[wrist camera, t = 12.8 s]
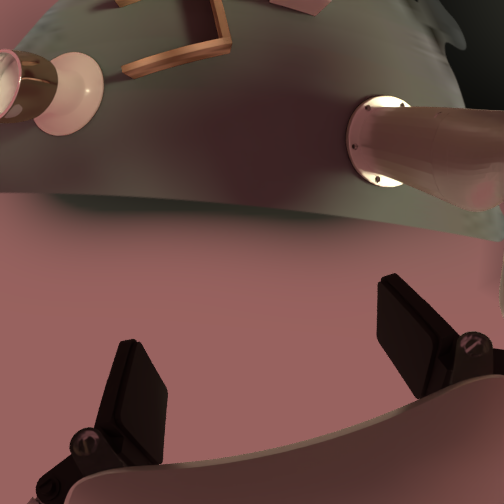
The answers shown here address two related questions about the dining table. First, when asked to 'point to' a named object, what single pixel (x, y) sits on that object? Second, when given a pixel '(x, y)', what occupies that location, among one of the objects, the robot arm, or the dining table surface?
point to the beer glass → (36, 87)
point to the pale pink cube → (303, 5)
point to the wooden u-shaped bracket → (186, 52)
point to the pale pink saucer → (89, 103)
